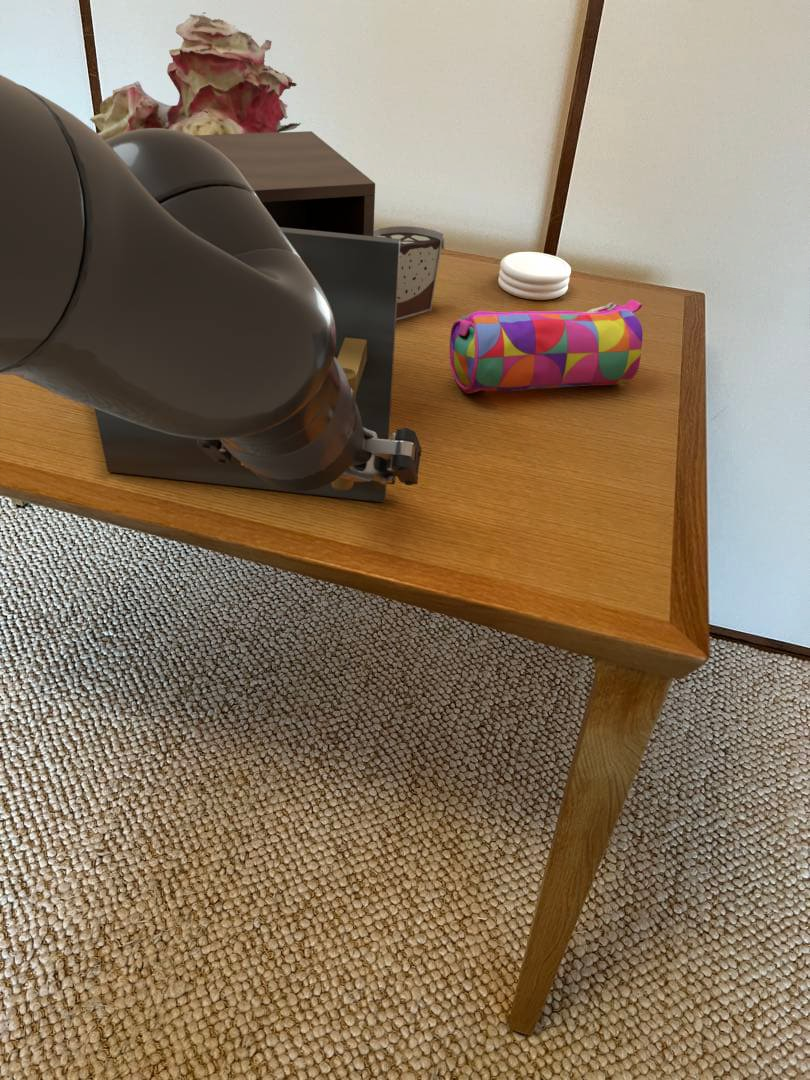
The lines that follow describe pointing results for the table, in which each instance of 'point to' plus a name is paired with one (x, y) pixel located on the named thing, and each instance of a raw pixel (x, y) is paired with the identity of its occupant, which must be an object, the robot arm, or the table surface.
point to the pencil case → (546, 348)
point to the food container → (415, 267)
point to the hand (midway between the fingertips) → (327, 468)
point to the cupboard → (302, 180)
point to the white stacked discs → (534, 275)
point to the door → (361, 349)
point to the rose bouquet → (206, 88)
